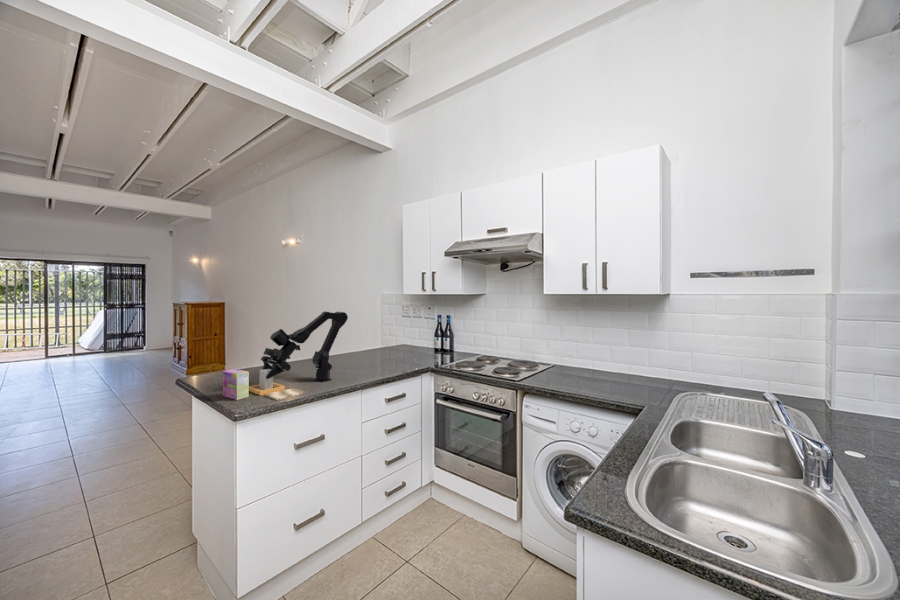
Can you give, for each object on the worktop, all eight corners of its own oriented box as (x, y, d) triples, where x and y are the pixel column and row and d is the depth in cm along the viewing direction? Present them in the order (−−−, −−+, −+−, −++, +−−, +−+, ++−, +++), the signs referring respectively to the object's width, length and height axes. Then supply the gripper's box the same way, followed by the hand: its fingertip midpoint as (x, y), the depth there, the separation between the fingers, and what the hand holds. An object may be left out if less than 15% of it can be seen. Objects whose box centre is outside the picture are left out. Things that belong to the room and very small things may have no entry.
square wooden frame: (271, 385, 185) (271, 381, 185) (284, 390, 178) (284, 386, 178) (247, 390, 175) (247, 386, 175) (260, 395, 168) (260, 391, 168)
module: (267, 388, 180) (267, 368, 179) (272, 390, 177) (273, 370, 176) (259, 390, 176) (259, 369, 176) (264, 392, 173) (265, 371, 173)
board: (292, 389, 179) (292, 388, 179) (304, 393, 174) (304, 391, 173) (264, 395, 168) (264, 394, 168) (276, 400, 162) (276, 398, 162)
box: (222, 396, 165) (222, 370, 165) (234, 393, 170) (235, 368, 170) (236, 400, 160) (236, 373, 160) (248, 397, 165) (249, 371, 165)
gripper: (264, 339, 184) (241, 364, 176) (285, 343, 174) (262, 370, 165) (279, 353, 191) (258, 378, 182) (300, 358, 180) (278, 384, 172)
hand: (263, 377), depth 175 cm, fingers open, 6 cm apart
